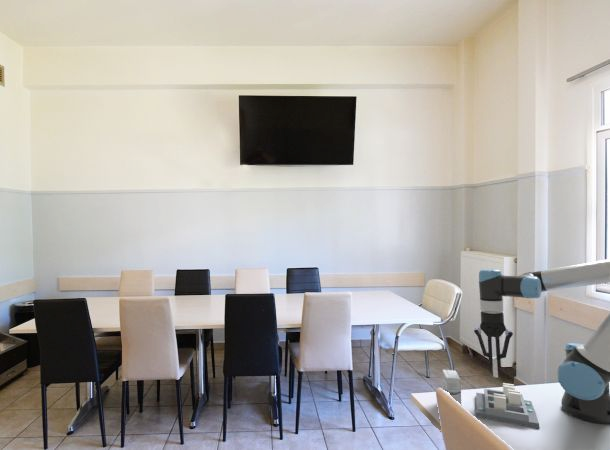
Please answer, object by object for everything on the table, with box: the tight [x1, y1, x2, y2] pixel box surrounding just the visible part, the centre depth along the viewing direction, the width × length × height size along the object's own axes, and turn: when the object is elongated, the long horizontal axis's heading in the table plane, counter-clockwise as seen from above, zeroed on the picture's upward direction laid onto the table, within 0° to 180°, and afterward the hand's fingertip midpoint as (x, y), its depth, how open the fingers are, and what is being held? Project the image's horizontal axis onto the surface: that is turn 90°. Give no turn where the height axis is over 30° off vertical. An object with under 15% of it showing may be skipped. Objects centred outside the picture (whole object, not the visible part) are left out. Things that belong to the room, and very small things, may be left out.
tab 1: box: [494, 393, 506, 410], centre depth 121 cm, size 4×3×6 cm
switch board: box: [475, 388, 540, 429], centre depth 125 cm, size 18×17×4 cm
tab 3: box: [508, 389, 521, 406], centre depth 124 cm, size 4×3×6 cm
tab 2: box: [502, 382, 516, 397], centre depth 130 cm, size 4×3×6 cm
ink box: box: [442, 369, 462, 405], centre depth 129 cm, size 8×5×12 cm, turn 168°
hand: (495, 376), depth 131 cm, fingers closed
